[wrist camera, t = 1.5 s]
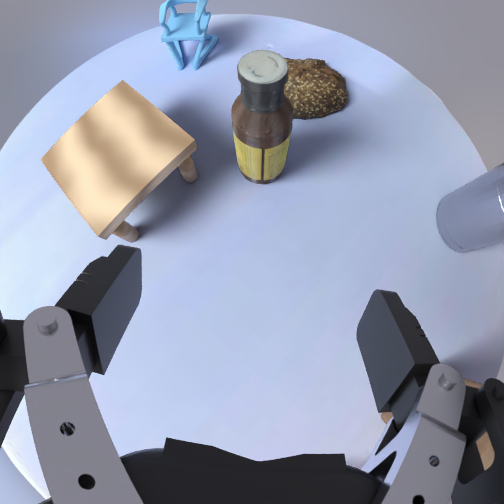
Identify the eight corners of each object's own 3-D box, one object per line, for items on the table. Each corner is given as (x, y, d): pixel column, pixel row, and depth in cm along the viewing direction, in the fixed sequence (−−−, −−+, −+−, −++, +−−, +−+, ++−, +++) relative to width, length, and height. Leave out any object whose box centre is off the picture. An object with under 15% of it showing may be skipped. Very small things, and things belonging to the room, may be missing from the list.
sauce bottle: (283, 145, 41) (306, 42, 22) (284, 187, 40) (312, 97, 21) (236, 143, 41) (229, 39, 22) (234, 185, 40) (224, 93, 21)
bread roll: (273, 123, 42) (276, 104, 37) (260, 63, 44) (262, 42, 39) (356, 119, 43) (366, 102, 38) (335, 61, 44) (342, 42, 39)
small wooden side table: (144, 119, 42) (122, 80, 32) (206, 175, 40) (194, 139, 31) (76, 185, 40) (40, 159, 30) (131, 250, 39) (97, 236, 29)
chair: (164, 71, 43) (147, 21, 31) (175, 38, 44) (162, -10, 33) (211, 70, 43) (203, 16, 31) (218, 37, 44) (213, -14, 33)
